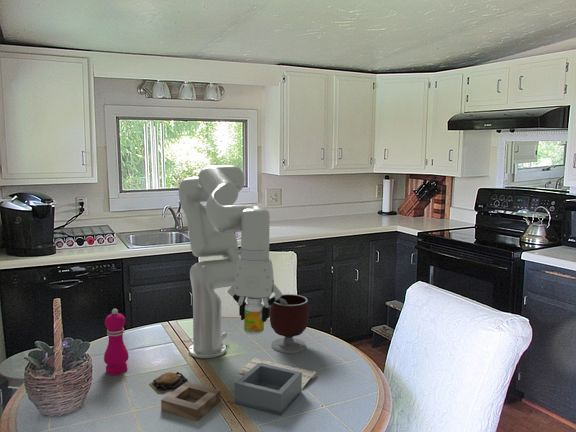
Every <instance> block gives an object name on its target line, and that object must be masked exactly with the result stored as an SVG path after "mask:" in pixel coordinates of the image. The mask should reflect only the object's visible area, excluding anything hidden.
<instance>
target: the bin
mask: <svg viewBox="0 0 576 432" xmlns="http://www.w3.org/2000/svg"><path fill="white" fill-rule="evenodd" d="M301 389H302V372H298V371H293V370H288V369H284V368H279V367H275V366H270V365H266V364H261V363H258V364H257V365H256V366H254V367H253V368H252V369H251V370H250V371H248V372H247V373H246V374H245V375H242V377H240V378H239V379H238V380H237V381H235V382H234V404H235V405H240V406H243V407H246V408H250V409H255V410H259V411H262V412H266V413H270V414H274V415H276V416H277V415H278V416H282V415H283V414H284V413H285V412H286V411H287V409H288V408H289V407H290V406H291V405H292V403H294V401H295V400H297V398H298V397H299V395H300V394H301V393H302V390H303V389H302V390H301Z"/></svg>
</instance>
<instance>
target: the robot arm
mask: <svg viewBox="0 0 576 432" xmlns="http://www.w3.org/2000/svg"><path fill="white" fill-rule="evenodd" d="M244 185H245V174H244V173H243V171H242V170H241V168H240V167H238V166H237V165H207V166H205V167H204V168H202V169H201V170H200V171H199V173H198V176H192V177H188V178H185V179H183V180H181V182H180V183H179V186H178V197H179V202H180V206H181V208H182V210H183V213H184V215H185V218H186V223H187V231H188V236H189V245H190V250H191V252H192V253H191V254H192V255H193V256H195V257H197V258H211V257H212V258H213V257H222V258H223V259H211V260H202V261H199V262H196V263H194V264H193V265H191V267H190V269H189V279H190V284H191V291H192V329H193V330H192V333H193V334H192V335H193V336H192V338H193V343H192V344H191V345H190V346H189V348H188V353H189V354H190V356H192V357H193V358H199V359H213V358H218V357H221V356H222V355H224V354H225V353H226V351H227V346H226V345H225V344H224V343H223V340H224V339H226V338H227V336H228V334H227V332H225V331H224V332H222V300H221V297H220V296H219V295H218V293H216V291H215V290H216V289H217V290H218V289H222V288H228V289H227V294H229V295H230V296H231V297H232V298H233V300H234V301H235V302H236V303H237V305H238V306H239V307H238V308H239V312H238V313H239V316H240V320H241V321H244V309H245V305H246V304H247V302H246V300H247V297H252V298H262V302H263V305H264V307H263V322H264V323H266V322H267V321H268V319H270V305H271V304H273V303H274V302H275V301H276V300H277V299H279V298H280V297H281V296H282V295H283V293H282V292H281V291H280V289H279V288H278V287H277V286H276V284H275V280H274V279H275V278H274V268H273V266H274V265H273V261H272V259H271V258H270V222H271V221H270V220H271V219H270V217H271V216H270V212H269V210H268V209H266V208H261V207H260V206H259V205H256V204H235V203H236V201H237V199H238V197H239V192H241V191H242V189H243V188H244ZM202 202H203V203H206V205H203V204H202ZM235 233H241V234H240V235H241V236H240V244H241V245H240V248H239V243H238V239H237V236H236V234H235ZM273 293H274V295H273V296H272V294H273ZM271 296H272V297H271Z"/></svg>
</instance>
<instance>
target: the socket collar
mask: <svg viewBox="0 0 576 432" xmlns="http://www.w3.org/2000/svg"><path fill="white" fill-rule="evenodd" d="M189 398H191V399H194V400H196V401H195V402H193V401H188V400H187V399H189ZM221 401H222V391H221V389H217V388H215V387H214V388H213V387H210V386H209V387H208V386H206V385H202V384H197V383H193V382H190V381H188V382H185V383H184V384H183V385H181V386H180V387H178V388H177V389H176V390H172V391H170V393H169V394H167V395H166V396H164V397H163V398H161V400H160V404H161V405H160V409H161V411H162V412H166V413H170V414H172V415H176V416H179V417H183V418H186V419H190V420H194V421H196V422H197V421H199V420H201V418H203V416H204V415H206V414H207V413H208V412H209V411H210V410H212V409H213V408H214V407H216V405H217V404H219V403H220V402H221Z"/></svg>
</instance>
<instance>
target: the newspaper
mask: <svg viewBox="0 0 576 432" xmlns="http://www.w3.org/2000/svg"><path fill="white" fill-rule="evenodd" d="M258 363H261V364H266V365H270V366H275V367H279V368H284V369H288V370H293V371H298V372H302V389H301V391H303V389H304V387H305V386H306V385H307V383H308V382H309V381H310V380H311V379H314V378H316V376H317V371H315V370H311V369H305V368H301V367H296V366H291V365H286V364H282V363H279V362H273V361H270V360H264V359H261V358H256V357H254V358H252V359H251V360H250V361H249V362H248V363H247V362H246V364H245V365H244V366H243V367H242V368H241V369H240V370H239V372H238V374H240V375H242V376H244V375H245V374H246V373H247V372H248V371H250V370H251V369H252V368H253V367H254V366H256V365H257V364H258Z"/></svg>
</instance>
